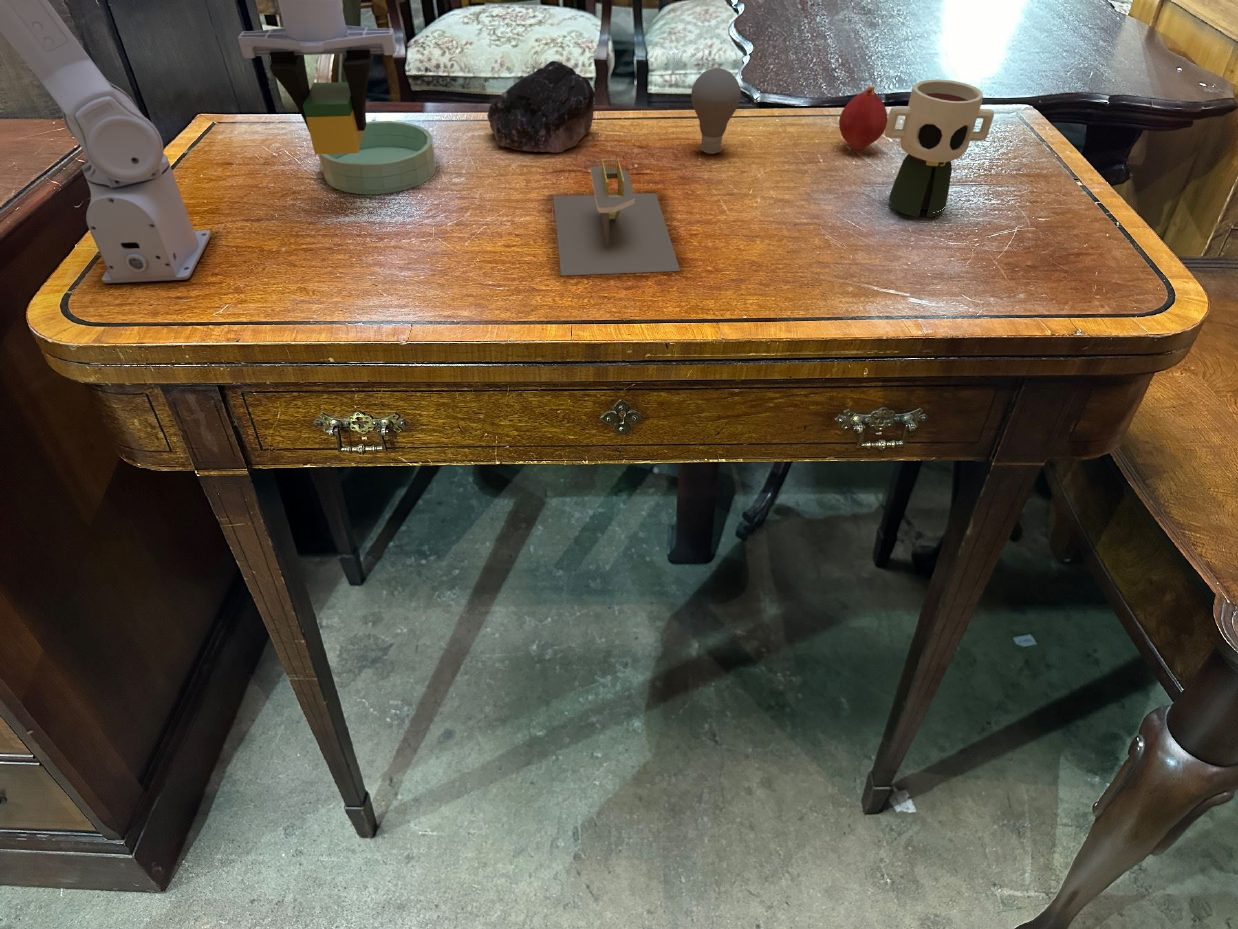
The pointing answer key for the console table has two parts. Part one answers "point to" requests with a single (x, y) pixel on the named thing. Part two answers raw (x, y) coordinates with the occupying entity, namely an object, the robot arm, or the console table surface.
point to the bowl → (383, 160)
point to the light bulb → (715, 105)
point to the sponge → (332, 119)
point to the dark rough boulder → (544, 110)
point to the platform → (612, 229)
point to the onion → (863, 120)
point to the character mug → (934, 141)
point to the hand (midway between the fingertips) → (337, 127)
